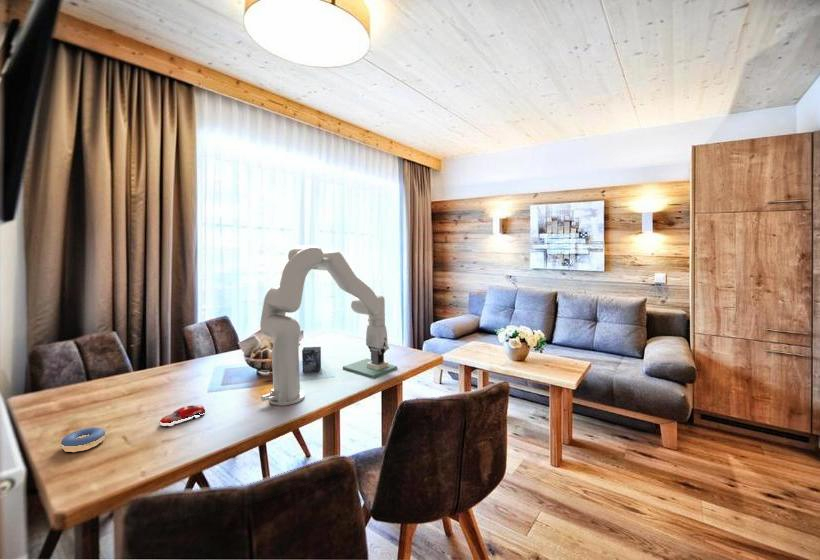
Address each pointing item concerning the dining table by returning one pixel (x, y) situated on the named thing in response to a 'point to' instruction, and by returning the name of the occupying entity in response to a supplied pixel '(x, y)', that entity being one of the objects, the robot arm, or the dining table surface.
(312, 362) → the box
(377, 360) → the plug
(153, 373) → the dining table surface
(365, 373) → the board
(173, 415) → the race car
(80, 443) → the doughnut
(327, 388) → the dining table surface
